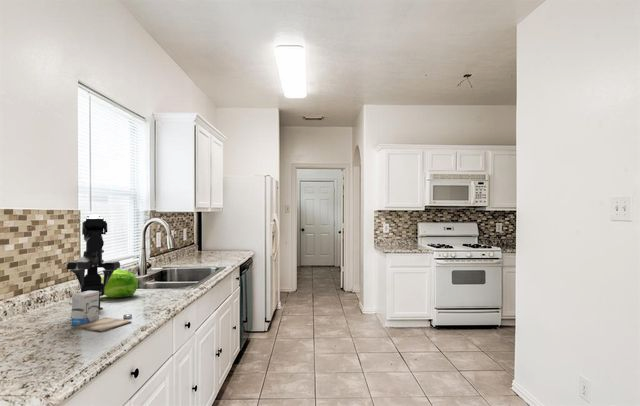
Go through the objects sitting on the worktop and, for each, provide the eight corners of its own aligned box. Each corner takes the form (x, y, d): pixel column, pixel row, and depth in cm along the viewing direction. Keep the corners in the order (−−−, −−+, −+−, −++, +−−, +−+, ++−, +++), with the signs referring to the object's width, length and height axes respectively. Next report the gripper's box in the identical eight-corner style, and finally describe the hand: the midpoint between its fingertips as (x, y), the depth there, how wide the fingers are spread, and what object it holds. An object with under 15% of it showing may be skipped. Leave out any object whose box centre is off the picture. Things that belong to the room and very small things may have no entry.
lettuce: (86, 307, 181) (97, 303, 195) (135, 294, 186) (143, 292, 201) (81, 277, 182) (92, 276, 197) (130, 265, 188) (138, 265, 202)
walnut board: (74, 327, 141) (74, 326, 141) (105, 318, 153) (105, 317, 153) (101, 332, 136) (101, 330, 136) (131, 322, 148) (131, 321, 148)
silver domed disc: (121, 319, 154) (121, 315, 154) (128, 317, 156) (128, 313, 157) (127, 319, 152) (127, 316, 152) (133, 317, 155) (133, 314, 155)
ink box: (81, 326, 143) (82, 295, 143) (70, 325, 144) (71, 294, 145) (99, 319, 152) (99, 290, 152) (88, 319, 153) (89, 290, 153)
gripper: (57, 250, 145) (56, 290, 144) (107, 250, 145) (106, 291, 145) (75, 247, 156) (74, 284, 156) (121, 247, 156) (120, 285, 156)
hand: (93, 286), depth 153 cm, fingers open, 9 cm apart
